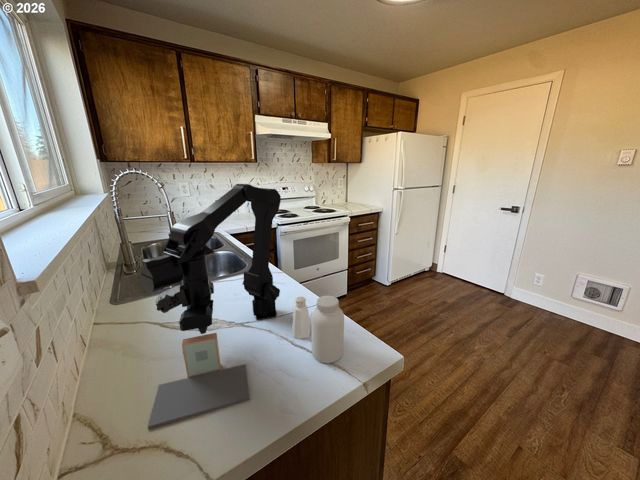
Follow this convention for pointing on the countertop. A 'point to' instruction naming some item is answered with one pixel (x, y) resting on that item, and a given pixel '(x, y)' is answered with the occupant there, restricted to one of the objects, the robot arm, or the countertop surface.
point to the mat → (199, 395)
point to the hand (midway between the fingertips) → (203, 332)
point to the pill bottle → (327, 330)
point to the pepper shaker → (301, 319)
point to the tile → (201, 354)
